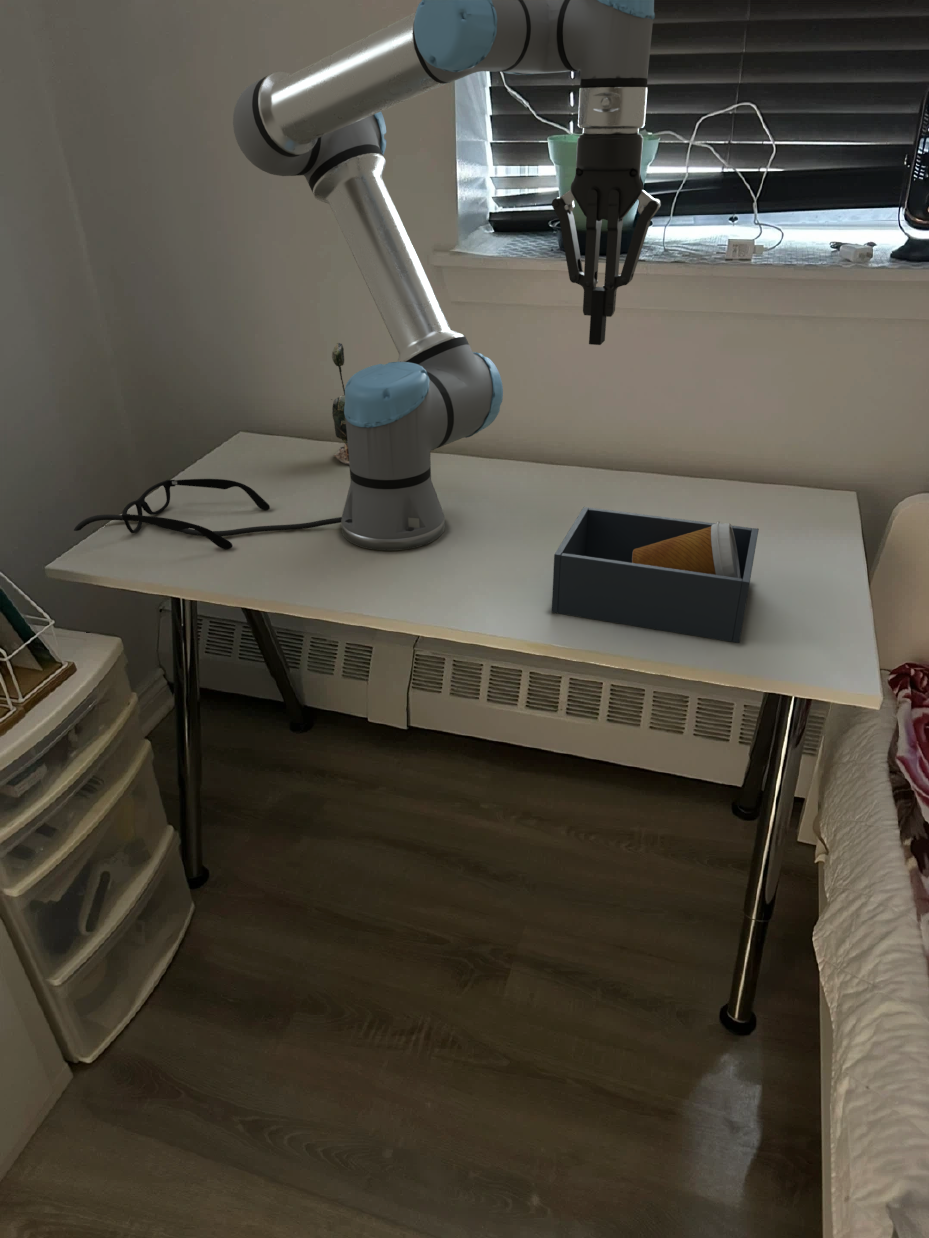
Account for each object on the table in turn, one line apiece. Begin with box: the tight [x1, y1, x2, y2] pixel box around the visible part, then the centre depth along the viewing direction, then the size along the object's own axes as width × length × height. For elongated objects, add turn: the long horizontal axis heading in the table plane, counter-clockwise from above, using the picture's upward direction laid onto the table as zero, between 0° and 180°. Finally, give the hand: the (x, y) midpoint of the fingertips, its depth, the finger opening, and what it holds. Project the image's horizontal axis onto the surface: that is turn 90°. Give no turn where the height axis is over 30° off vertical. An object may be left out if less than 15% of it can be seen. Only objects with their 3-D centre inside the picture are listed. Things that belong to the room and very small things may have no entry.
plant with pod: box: [330, 342, 350, 466], centre depth 154 cm, size 8×11×20 cm
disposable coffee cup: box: [632, 521, 741, 578], centre depth 110 cm, size 10×10×12 cm
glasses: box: [121, 478, 271, 550], centre depth 133 cm, size 17×18×5 cm
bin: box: [551, 506, 759, 644], centre depth 111 cm, size 23×16×8 cm
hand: (596, 342), depth 113 cm, fingers closed
